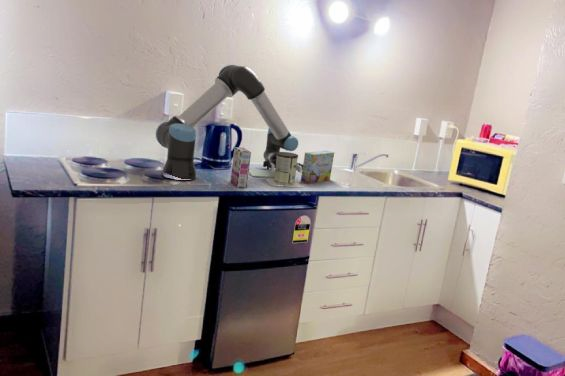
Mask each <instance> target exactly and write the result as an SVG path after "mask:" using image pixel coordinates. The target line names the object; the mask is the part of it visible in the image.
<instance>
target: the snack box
mask: <svg viewBox="0 0 565 376" xmlns="http://www.w3.org/2000/svg"><path fill="white" fill-rule="evenodd" d="M334 157H335V152H334V151H329V150H317V151H307V152H304V157H303V169H302V172H301V177H300V182H302V183H305V184H308V185H309V184H315V183H319V182H325V181H330V180H331V175H332V169H333V164H334V162H333V161H334Z"/></svg>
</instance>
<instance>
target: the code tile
mask: <svg viewBox="0 0 565 376" xmlns="http://www.w3.org/2000/svg"><path fill="white" fill-rule="evenodd" d="M264 179H265V180H266V181H267V183H269V184H270V185H271V186H272V187H283V186H286V187H285V188H299V189H300V188H301V189H302V188H305V187H304V186H303V185H302V184H301V183H300V182H299V181H298V180H296V179H295V184H293V185H283V184H278V183H275V182H274V178H264ZM278 185H280V186H278ZM281 185H282V186H281Z"/></svg>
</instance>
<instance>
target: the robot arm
mask: <svg viewBox="0 0 565 376" xmlns="http://www.w3.org/2000/svg"><path fill="white" fill-rule="evenodd" d="M239 92H241V93H242V94H243V95H244V96H245V97H246V99H247V100H249V101H251V103H252V104H253V106H254V107H255V108H256V110H257V111H258V113H259V114H260V116H261V117H262V119H263V121H264V122H265V124H266V125H267V127H268V130H267V134H266V135H267V136H266V144H265V145H266V147H265V150H264V152H263V159H264V161H263V162H262V167H263V168H266V170H272V171H275V167H276V158H277V152H281V149H282V150H284V151H286V152H287V151H288V152H294V151H295V150H297V148H298V147H299V139H298V138H296V137H295V136H294V135H292V134H291V132H290V130H289V129H288V128H287V126H286V125H285V123H284V121H283V119H282V118H281V116H280V114H279V113H278V111H277V110H276V108H275V107H274V105H273V103H272V101H271V100H270V98H269V97H268V95H267V93H266V87H265V86H264V84H263V83H262V81H261V80H260V78H259V76H258V75H257V74H256V73H255V71H253V70H252V68H250V67H247V66H244V65H243V66H241V65H236V64H229V65H226V66H224V67H222V68H221V69H220V71H219V72H218V75H217V77H216V78H215V79H214V84H213V85H211V87H209V88H208V89H207V90H206V91H205V92H204V93H202V95H201V96H199V97H198V98H197V99H196V100H195V101H194V102H192V104H190V105H189V106H188V107H187V108H186V109H185V110H184V111H183V112H182V113H181V114H179V115H174V116H172V117H171V118H169V120H168V121H164V122H162V123H160V124H159V125H158V126H157V128H156V130H155V139H156V141H157V142H158V143H159V145H160V146H161V147H163V148H166V149H167V156H166V157H167V159H166V161H165V164H164V167H163V169H162V171H163V172H164V173H167V174H169V175H172V176H175V177H178V178H181V179H195V178H196V179H197V170H196V167H195V163H194V162H195V161H194V160H195V149H196V148H195V147H196V139H197V131H196V128H195V127H196V126H198V124H200V122H202V121H203V120H204V119H205V118H206V117H207V116H208V115H209V114H211V112H213V111H214V110H215V108H217V107H218V106H219V105H220V104H221V103H222V102H223V101H224V100H226V99H227V98H233V97H234V95H237V93H239ZM302 169H303V164H302V163H300V162H297V167H296V172H298V173H300V174H302ZM196 179H195V180H196Z"/></svg>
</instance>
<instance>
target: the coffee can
mask: <svg viewBox="0 0 565 376" xmlns="http://www.w3.org/2000/svg"><path fill="white" fill-rule="evenodd" d="M298 158H299V154H297V153H294V152H290V151H288V152H287V151H280V152H277V158H276V167H275V168H274V171H275V176H274V182H275V183H278V184H283V185H293V184H295V180H296V173H297V170H296V167H297V163H298Z"/></svg>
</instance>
